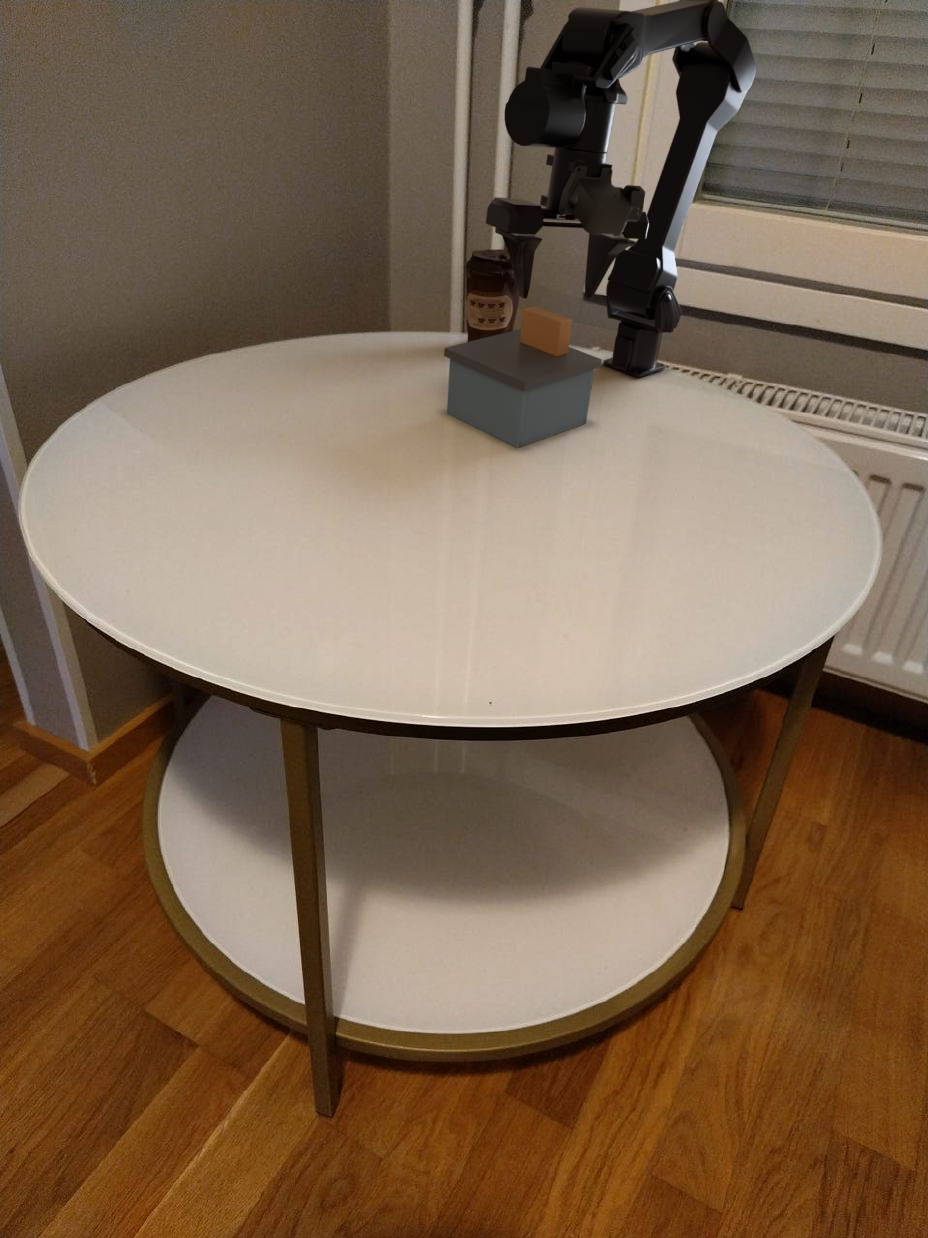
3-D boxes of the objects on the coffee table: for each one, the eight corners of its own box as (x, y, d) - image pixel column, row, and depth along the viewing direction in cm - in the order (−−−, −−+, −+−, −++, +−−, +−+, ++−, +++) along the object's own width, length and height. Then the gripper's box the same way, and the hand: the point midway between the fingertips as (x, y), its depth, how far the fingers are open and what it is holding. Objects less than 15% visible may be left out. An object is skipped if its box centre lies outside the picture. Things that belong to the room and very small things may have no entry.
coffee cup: (513, 361, 120) (522, 264, 113) (455, 354, 121) (460, 257, 114) (522, 342, 127) (531, 249, 120) (467, 335, 128) (473, 242, 121)
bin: (515, 392, 111) (520, 338, 107) (586, 423, 104) (594, 367, 100) (446, 413, 104) (449, 356, 100) (517, 448, 98) (523, 388, 93)
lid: (520, 336, 108) (524, 295, 105) (600, 367, 100) (607, 324, 97) (443, 356, 100) (445, 312, 97) (524, 391, 93) (528, 345, 90)
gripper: (547, 152, 84) (523, 317, 92) (695, 165, 92) (660, 315, 100) (493, 138, 92) (475, 290, 100) (633, 151, 100) (605, 291, 108)
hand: (556, 297), depth 102 cm, fingers open, 9 cm apart
